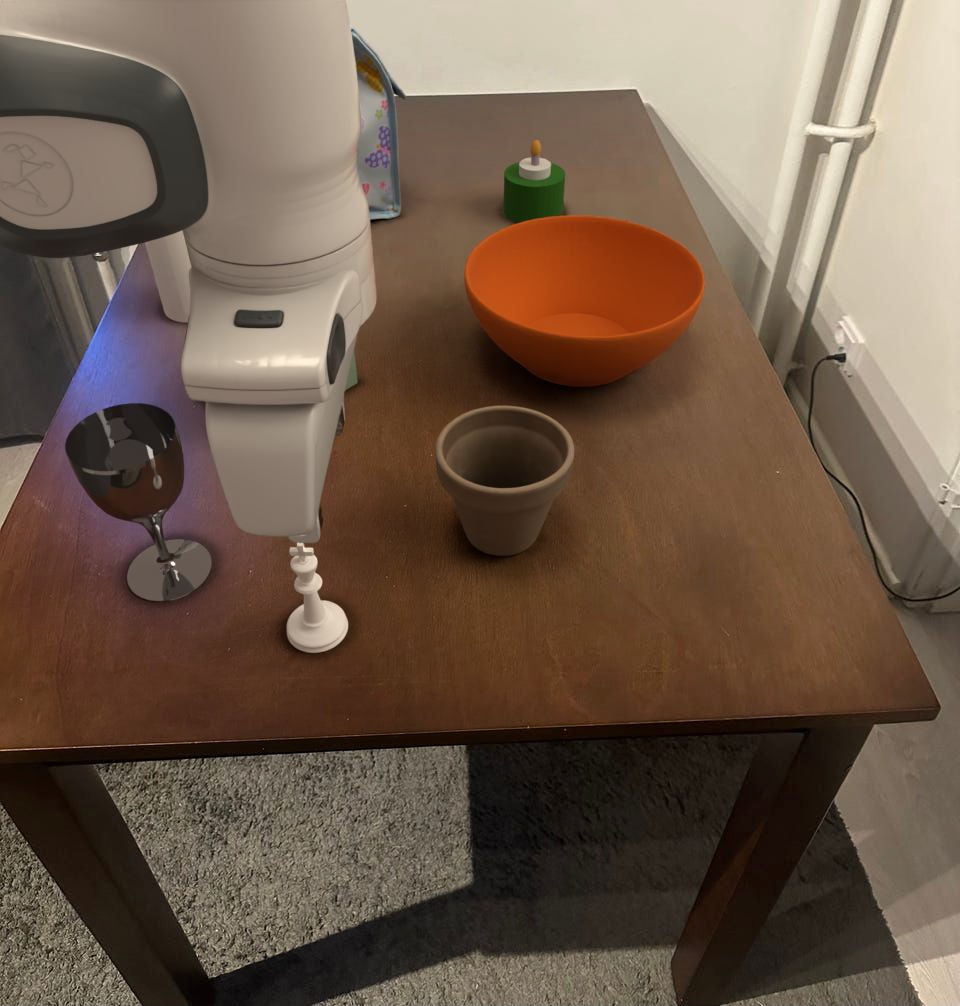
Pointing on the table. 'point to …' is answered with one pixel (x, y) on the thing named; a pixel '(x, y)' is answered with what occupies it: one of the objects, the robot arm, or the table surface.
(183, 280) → the cylindrical container
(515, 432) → the flower pot
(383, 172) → the lunch bag
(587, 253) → the bowl
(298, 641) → the chess piece
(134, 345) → the table surface
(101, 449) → the wine glass
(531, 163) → the candle
